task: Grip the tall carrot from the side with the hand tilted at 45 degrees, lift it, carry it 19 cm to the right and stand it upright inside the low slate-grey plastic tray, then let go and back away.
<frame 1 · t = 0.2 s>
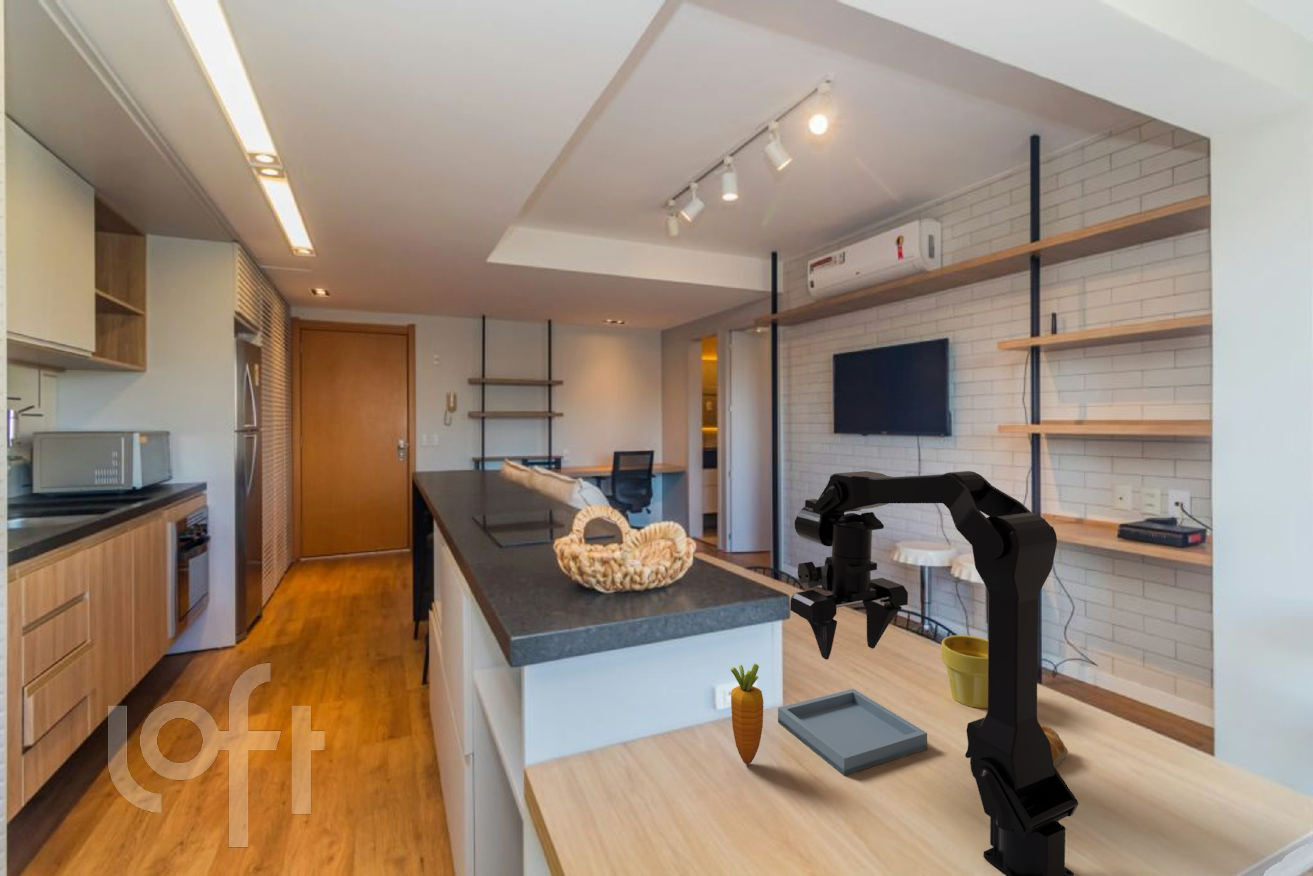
hand: (848, 652, 92), 14 cm above the table, tool pointing down, fingers open, 9 cm apart
pastry: (1036, 759, 89), on the table
plant pot: (973, 700, 106), on the table
carrot: (747, 765, 87), on the table
tray: (849, 735, 95), on the table
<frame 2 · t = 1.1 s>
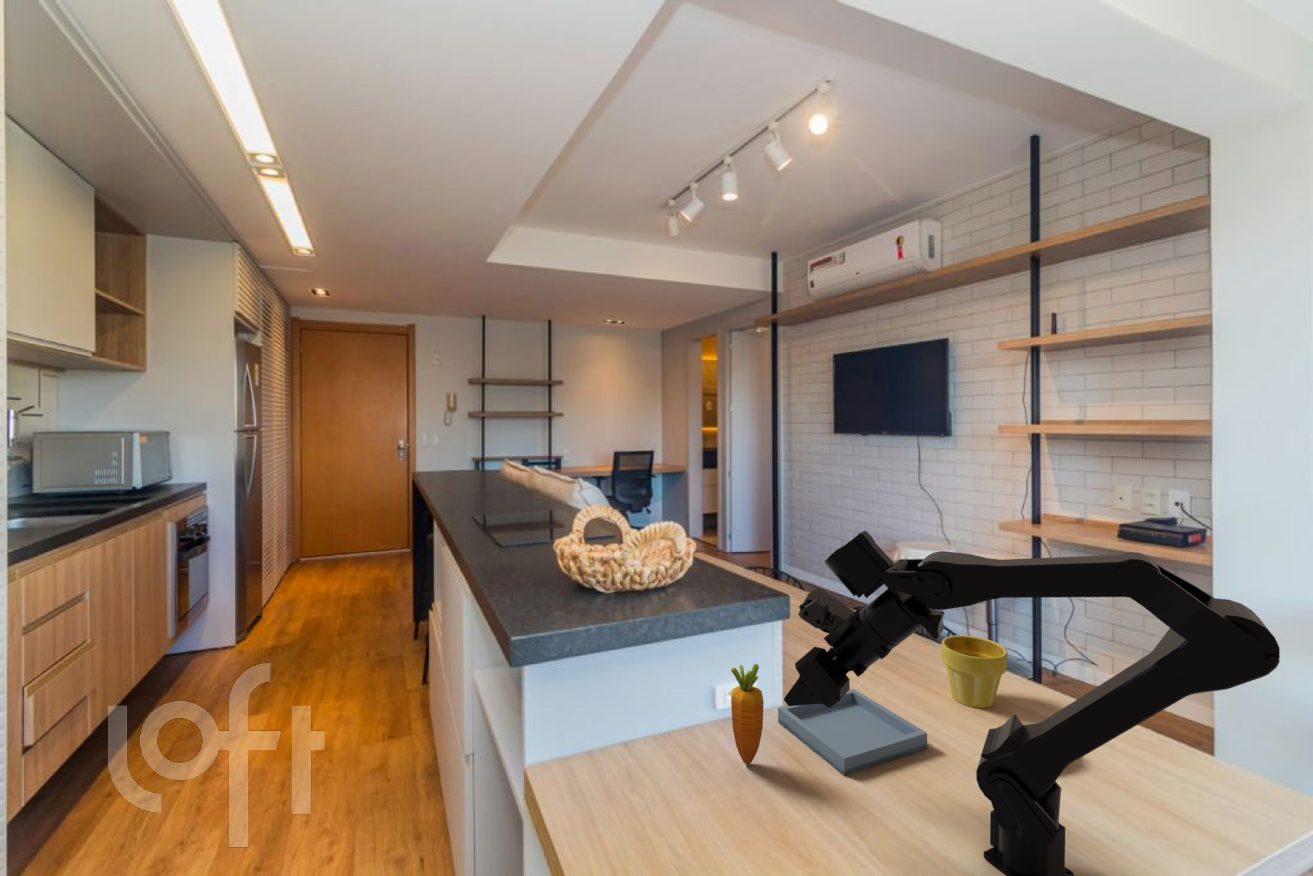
hand: (800, 689, 82), 13 cm above the table, tool tilted 45°, fingers open, 9 cm apart
nothing on the table moved.
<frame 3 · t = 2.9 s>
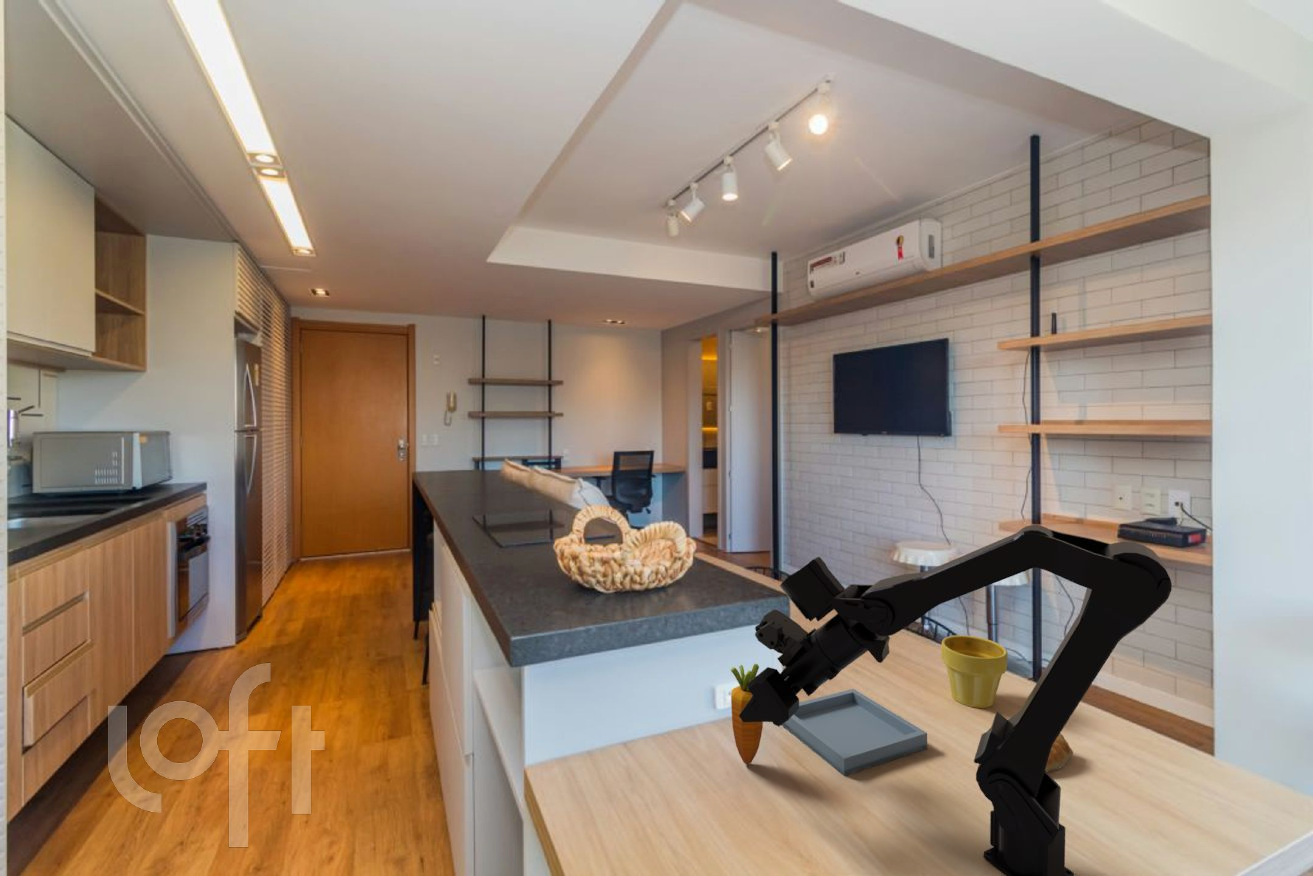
hand: (756, 705, 86), 9 cm above the table, tool tilted 45°, fingers open, 9 cm apart
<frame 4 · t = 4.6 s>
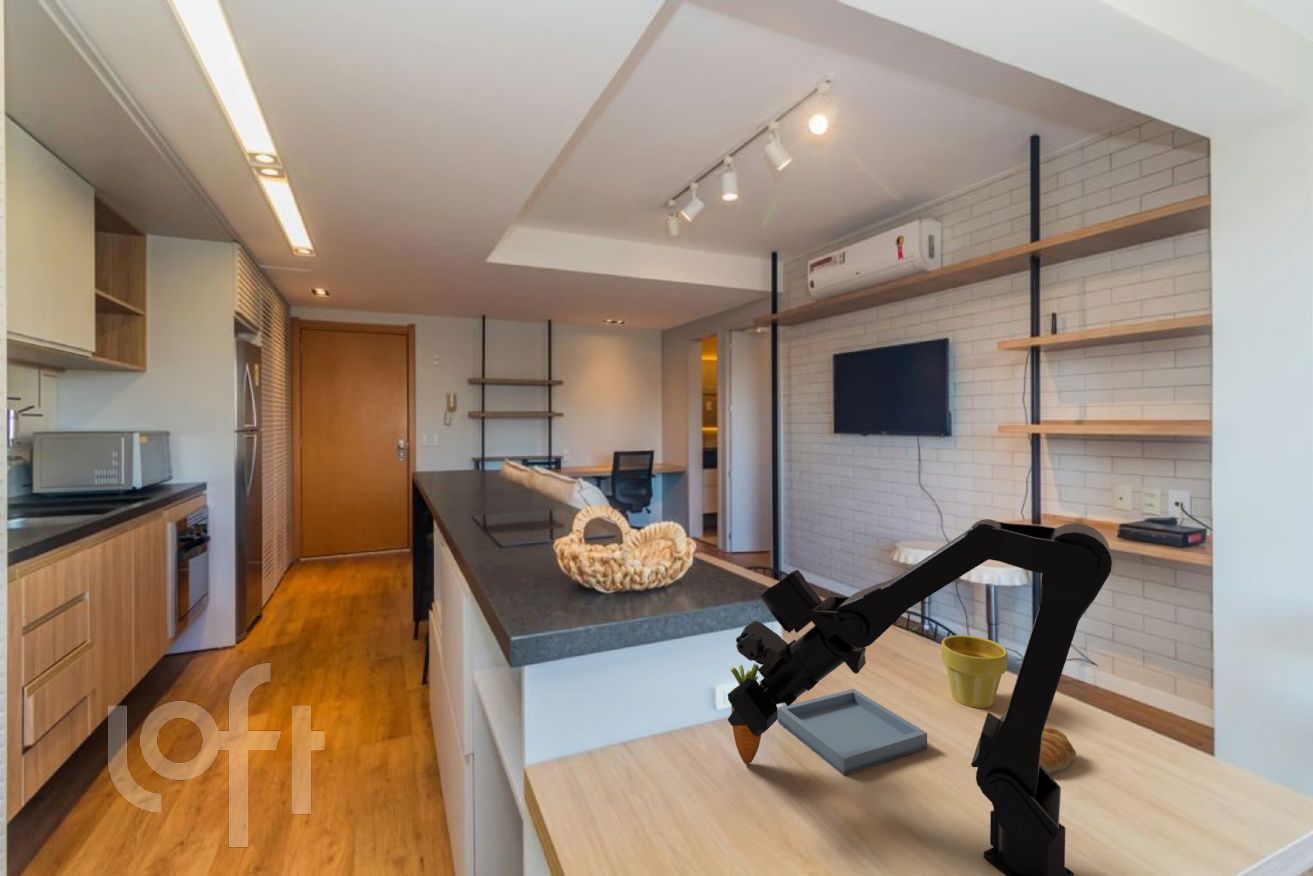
hand: (738, 714, 88), 7 cm above the table, tool tilted 45°, fingers closed on carrot, 5 cm apart
carrot: (747, 765, 87), on the table, touching gripper
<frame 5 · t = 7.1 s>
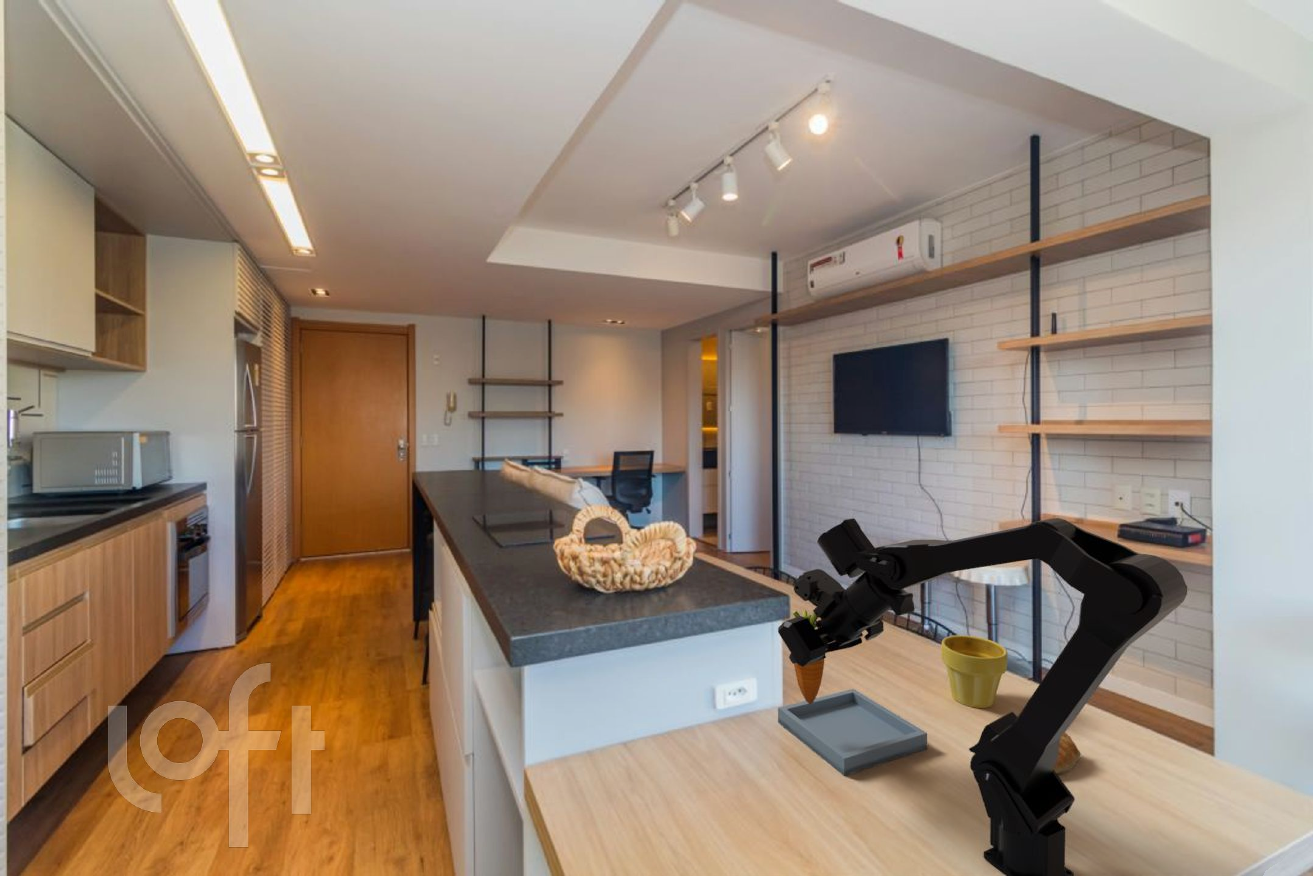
hand: (802, 656, 94), 13 cm above the table, tool tilted 45°, fingers closed on carrot, 5 cm apart
carrot: (809, 704, 93), point 6 cm above the table, touching gripper
when the fingers open (9 cm above the table, at t = 9.4 s): carrot drops 1 cm, resting on tray.
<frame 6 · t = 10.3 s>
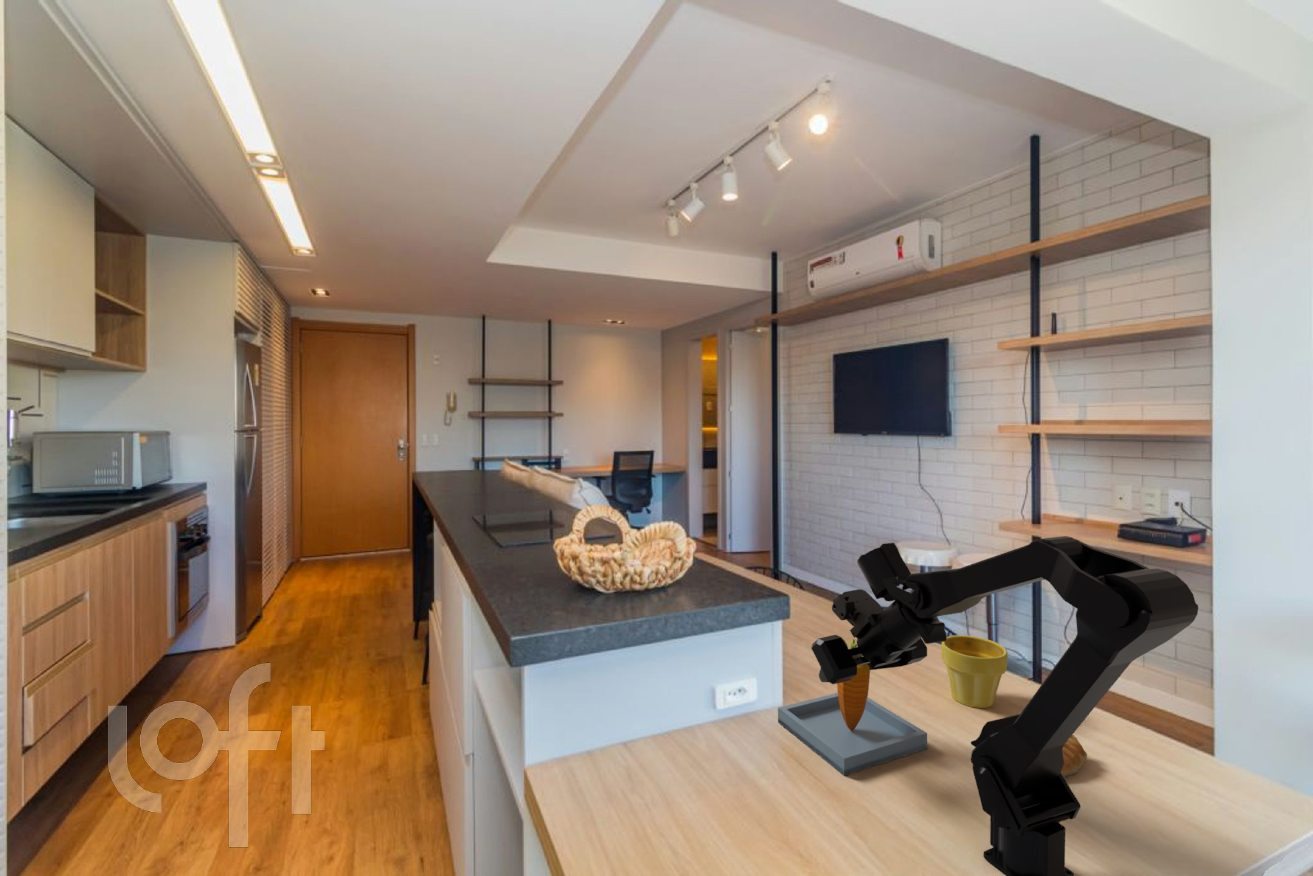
hand: (843, 672, 96), 10 cm above the table, tool tilted 45°, fingers open, 9 cm apart
carrot: (851, 731, 95), point 1 cm above the table, touching tray
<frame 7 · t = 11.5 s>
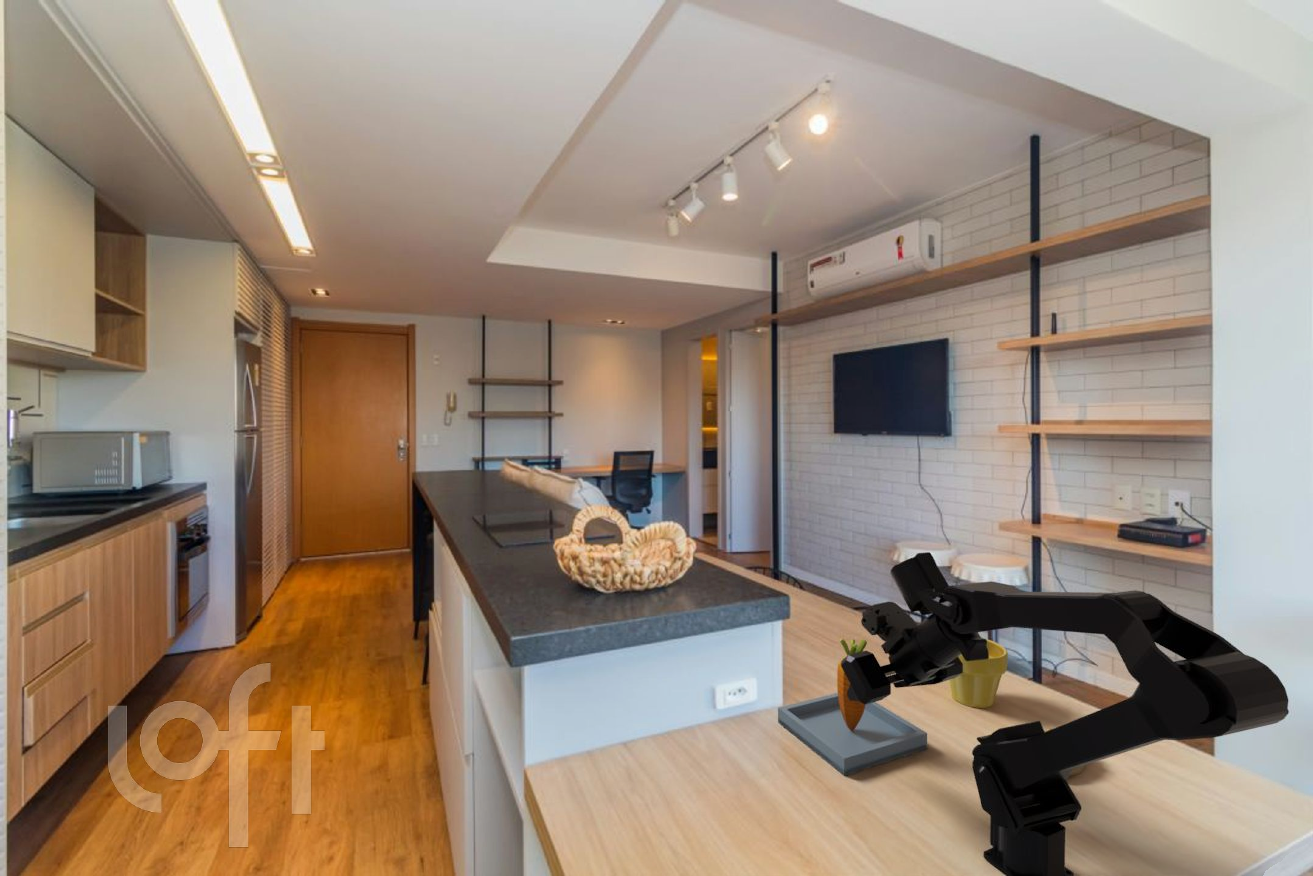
hand: (872, 690, 90), 9 cm above the table, tool tilted 45°, fingers open, 9 cm apart
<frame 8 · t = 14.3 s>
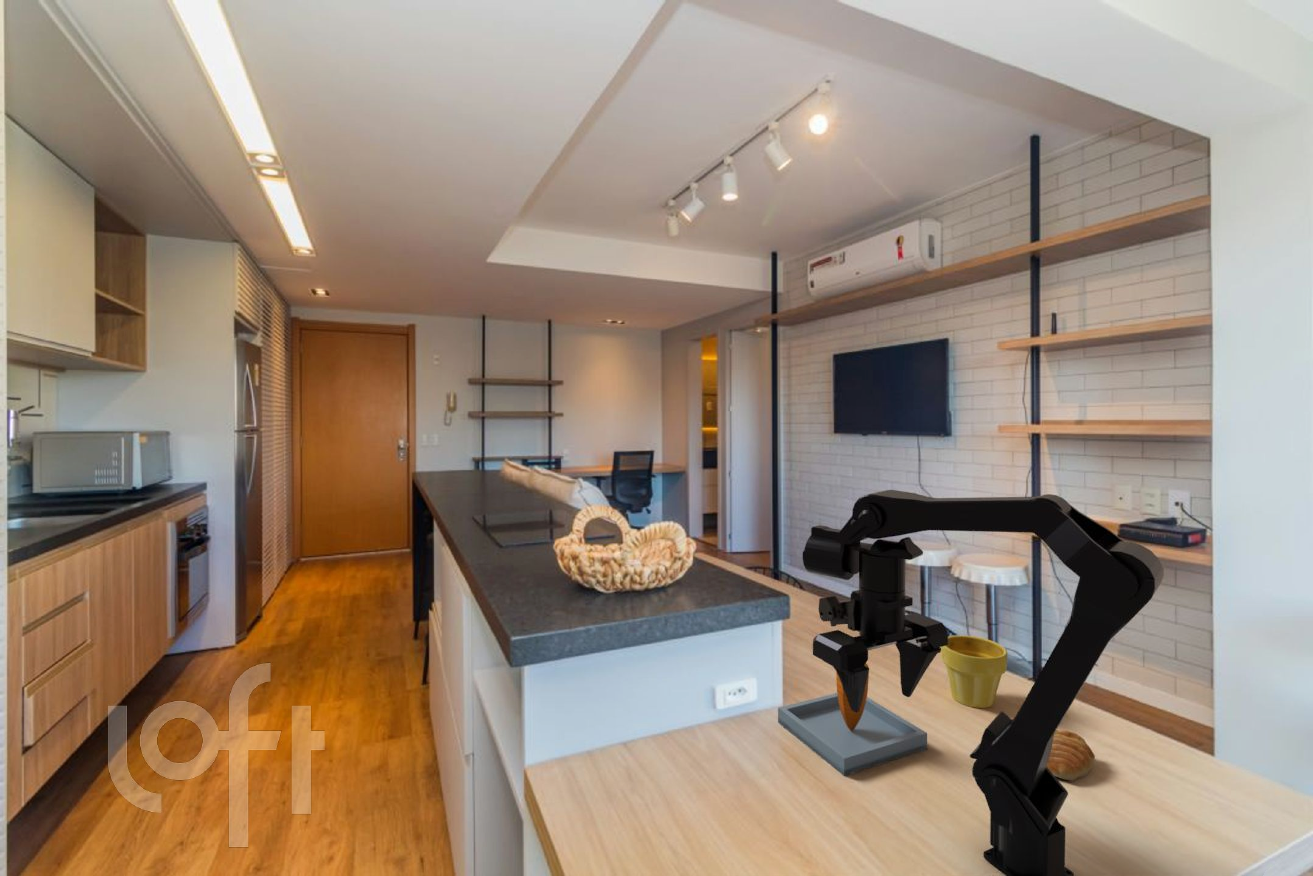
hand: (881, 703, 79), 13 cm above the table, tool pointing down, fingers open, 9 cm apart
at the end: carrot inside the target area on the tray (0.3 cm from its centre), point 0.6 cm above the tray's base; carrot tilted 1°; the gripper is holding nothing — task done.
